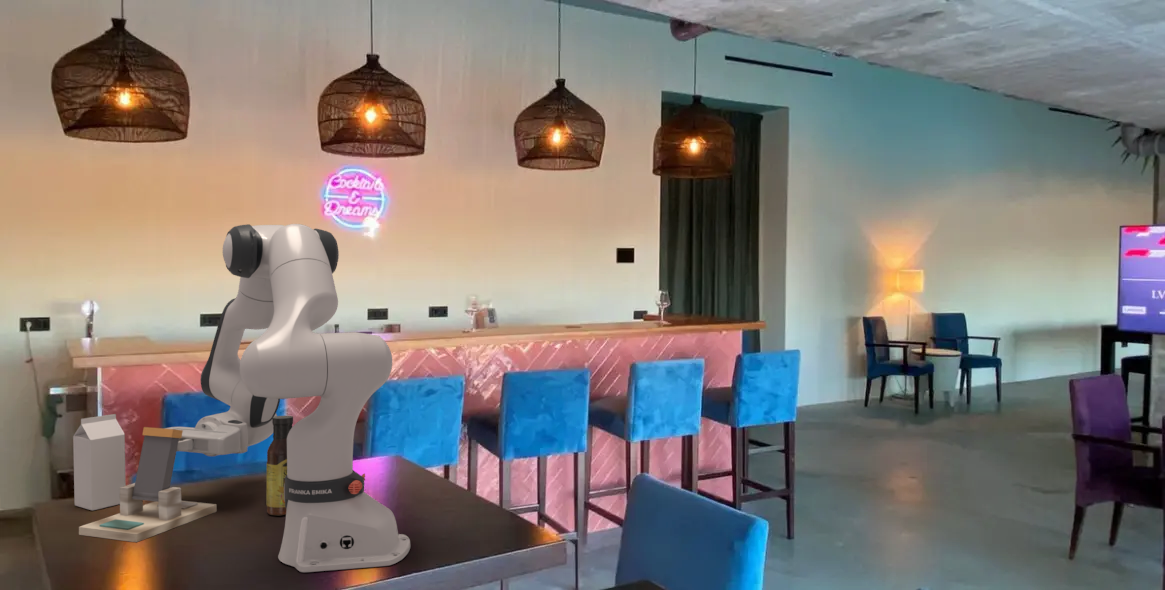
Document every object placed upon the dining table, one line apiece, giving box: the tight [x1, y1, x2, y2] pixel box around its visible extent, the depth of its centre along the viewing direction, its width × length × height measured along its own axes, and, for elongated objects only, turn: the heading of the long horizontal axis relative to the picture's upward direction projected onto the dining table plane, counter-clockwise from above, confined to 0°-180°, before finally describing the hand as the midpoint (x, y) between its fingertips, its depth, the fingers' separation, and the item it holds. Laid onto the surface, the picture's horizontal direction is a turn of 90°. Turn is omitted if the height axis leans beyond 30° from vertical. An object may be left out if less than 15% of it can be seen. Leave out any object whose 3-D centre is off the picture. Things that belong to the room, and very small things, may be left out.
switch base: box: [78, 482, 218, 543], centre depth 162 cm, size 20×14×7 cm
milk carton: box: [72, 413, 127, 511], centre depth 174 cm, size 7×7×19 cm
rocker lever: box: [132, 426, 183, 502], centre depth 163 cm, size 3×7×14 cm, turn 72°
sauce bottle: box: [265, 415, 294, 517], centre depth 168 cm, size 7×6×20 cm
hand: (164, 448), depth 165 cm, fingers closed, pressing on rocker lever
